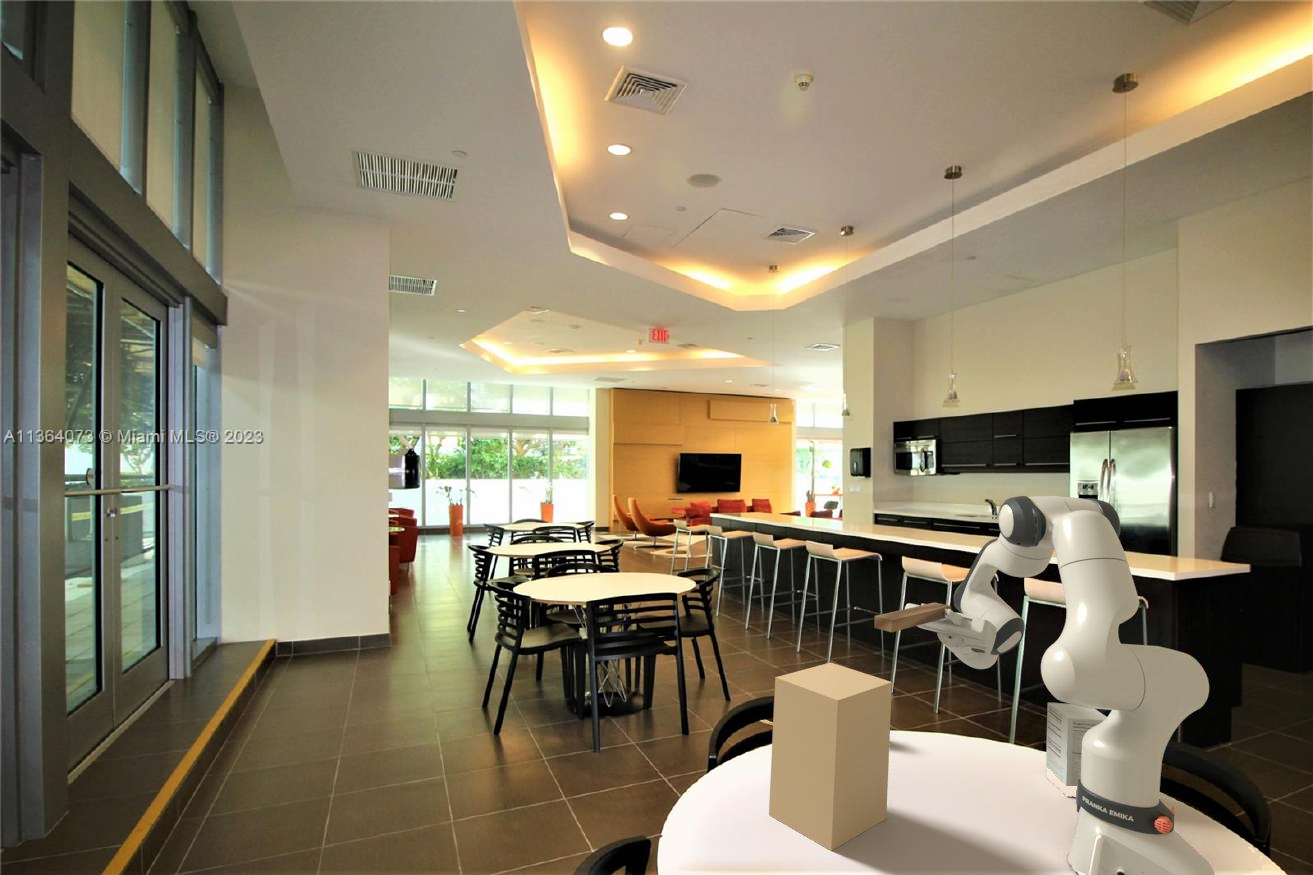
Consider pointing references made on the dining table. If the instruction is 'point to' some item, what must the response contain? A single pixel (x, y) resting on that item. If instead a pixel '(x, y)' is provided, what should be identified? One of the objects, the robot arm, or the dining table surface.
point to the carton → (830, 752)
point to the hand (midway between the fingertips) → (934, 609)
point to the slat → (910, 617)
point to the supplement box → (1068, 739)
